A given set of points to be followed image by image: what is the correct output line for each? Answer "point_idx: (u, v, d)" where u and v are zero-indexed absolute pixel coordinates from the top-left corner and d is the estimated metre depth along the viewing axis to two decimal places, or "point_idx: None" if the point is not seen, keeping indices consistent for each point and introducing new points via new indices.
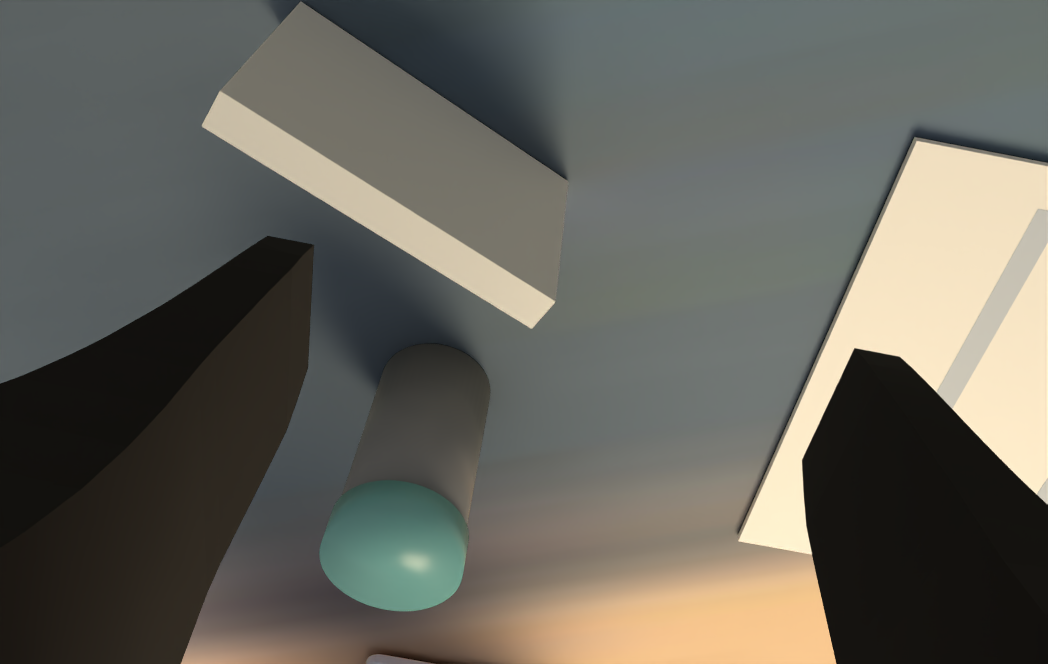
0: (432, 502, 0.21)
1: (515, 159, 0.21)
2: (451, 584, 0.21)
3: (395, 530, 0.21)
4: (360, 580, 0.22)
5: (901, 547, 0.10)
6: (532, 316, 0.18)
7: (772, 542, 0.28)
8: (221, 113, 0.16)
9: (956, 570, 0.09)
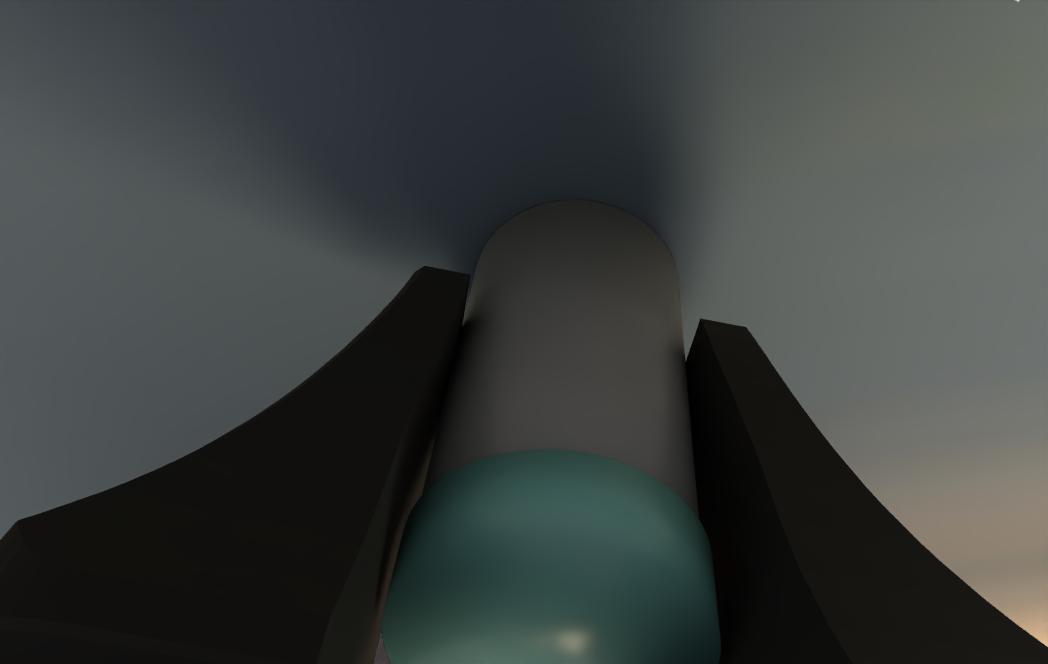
0: (653, 501, 0.09)
1: None
2: None
3: (571, 570, 0.08)
4: None
5: (718, 512, 0.10)
6: None
7: None
8: None
9: (750, 532, 0.09)
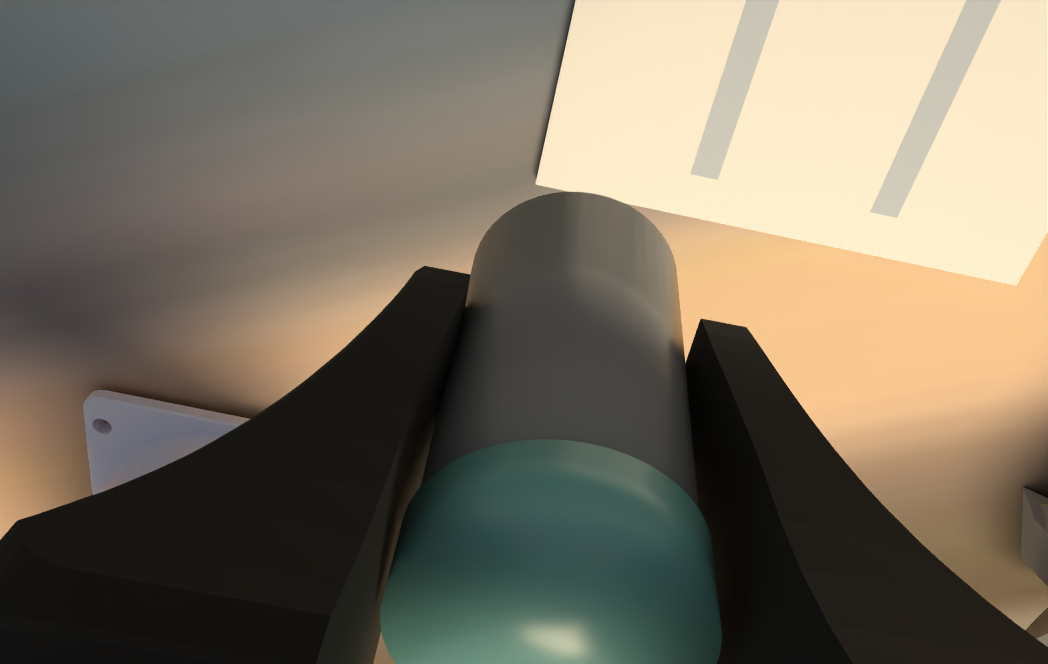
0: (652, 491, 0.09)
1: None
2: None
3: (572, 560, 0.08)
4: None
5: (718, 512, 0.10)
6: None
7: (581, 185, 0.21)
8: None
9: (750, 532, 0.09)
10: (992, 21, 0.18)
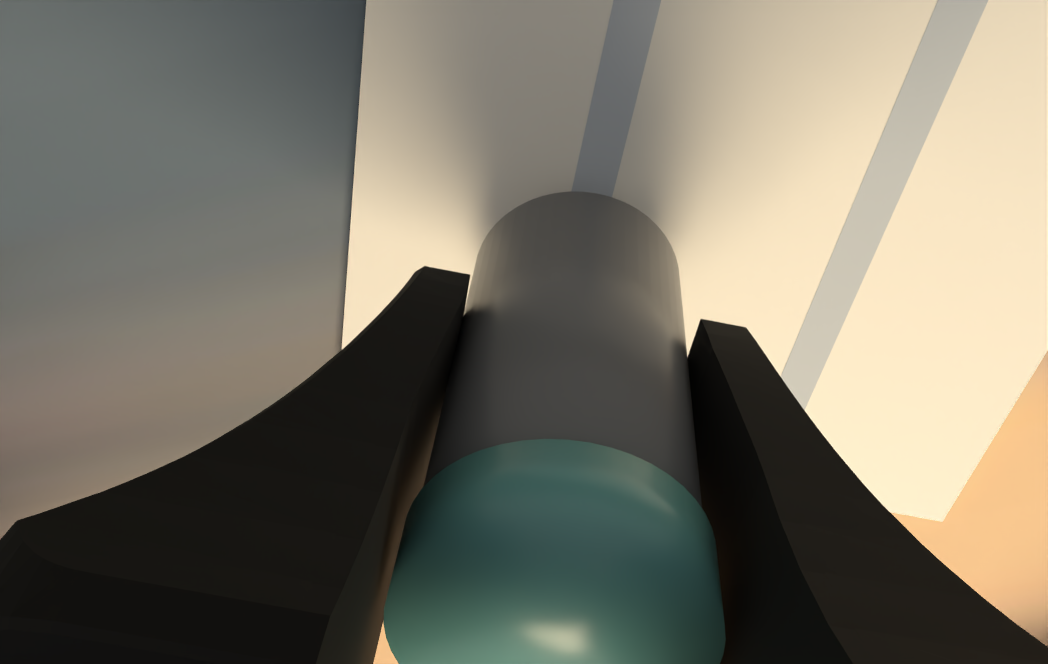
0: (657, 490, 0.09)
1: None
2: None
3: (575, 559, 0.08)
4: None
5: (718, 512, 0.10)
6: None
7: None
8: None
9: (750, 532, 0.09)
10: (885, 234, 0.14)
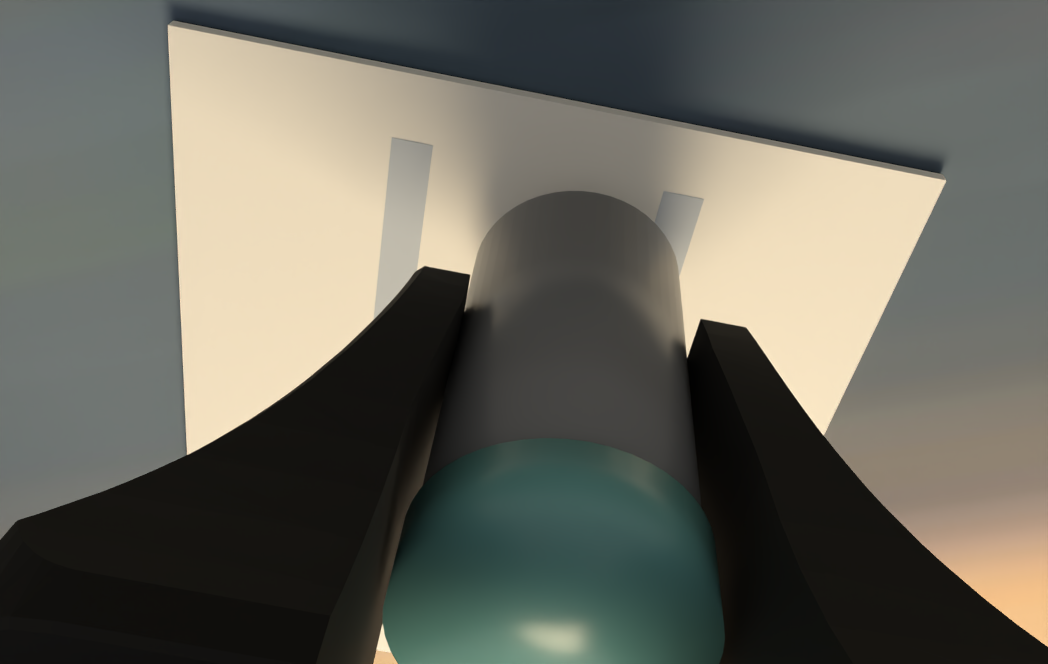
0: (656, 489, 0.09)
1: None
2: None
3: (574, 559, 0.08)
4: None
5: (718, 512, 0.10)
6: None
7: None
8: None
9: (750, 532, 0.09)
10: None
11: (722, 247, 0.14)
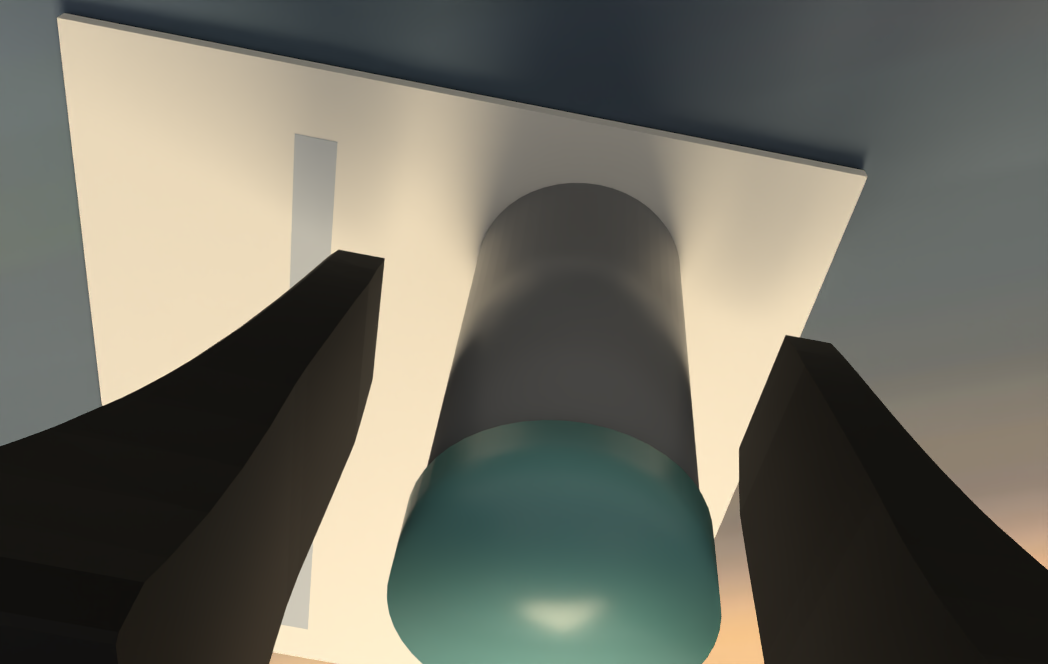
0: (654, 471, 0.09)
1: None
2: (687, 659, 0.09)
3: (574, 536, 0.09)
4: (476, 649, 0.10)
5: (819, 531, 0.10)
6: None
7: None
8: None
9: (864, 553, 0.09)
10: None
11: None
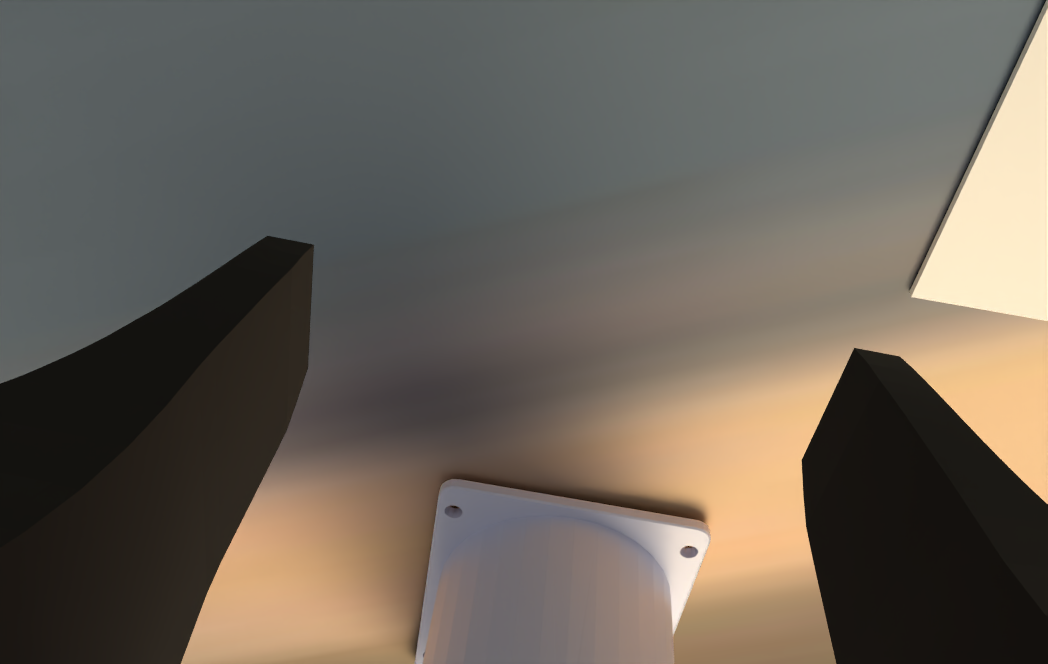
0: None
1: None
2: None
3: None
4: None
5: (901, 546, 0.10)
6: None
7: (954, 297, 0.23)
8: None
9: (956, 570, 0.09)
10: None
11: None
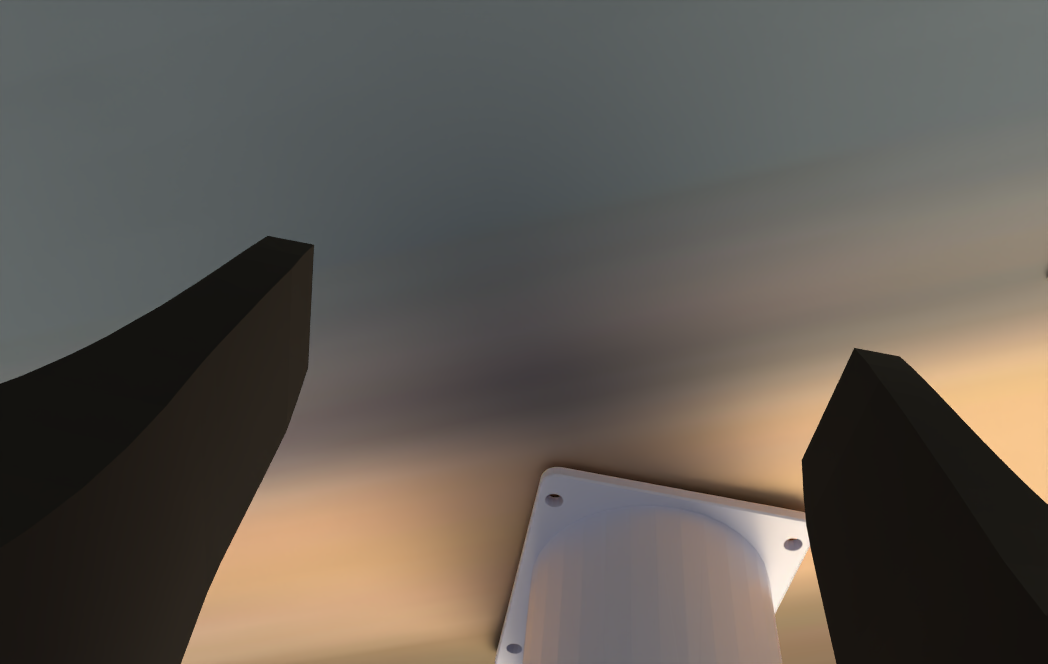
0: None
1: None
2: None
3: None
4: None
5: (901, 546, 0.10)
6: None
7: None
8: None
9: (956, 570, 0.09)
10: None
11: None
